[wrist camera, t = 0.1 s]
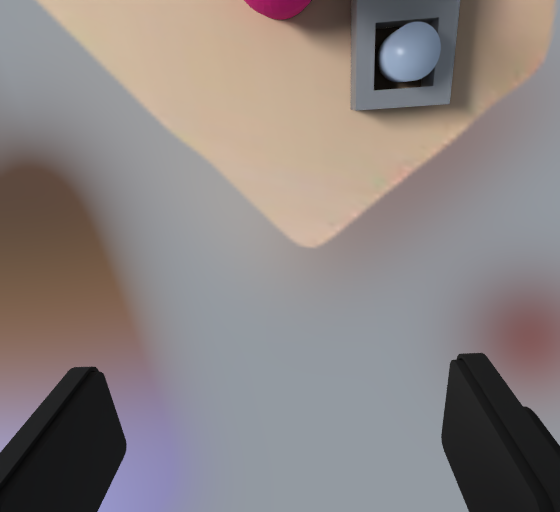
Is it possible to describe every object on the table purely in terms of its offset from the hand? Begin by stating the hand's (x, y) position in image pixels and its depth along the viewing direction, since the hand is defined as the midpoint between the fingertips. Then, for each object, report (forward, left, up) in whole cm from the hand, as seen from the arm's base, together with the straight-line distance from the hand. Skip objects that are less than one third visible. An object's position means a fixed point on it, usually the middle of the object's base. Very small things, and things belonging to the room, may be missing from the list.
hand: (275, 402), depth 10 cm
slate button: (-10, +10, -29) cm, 32 cm away
